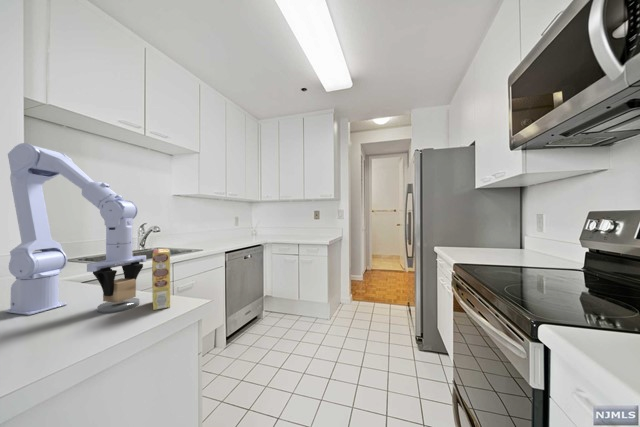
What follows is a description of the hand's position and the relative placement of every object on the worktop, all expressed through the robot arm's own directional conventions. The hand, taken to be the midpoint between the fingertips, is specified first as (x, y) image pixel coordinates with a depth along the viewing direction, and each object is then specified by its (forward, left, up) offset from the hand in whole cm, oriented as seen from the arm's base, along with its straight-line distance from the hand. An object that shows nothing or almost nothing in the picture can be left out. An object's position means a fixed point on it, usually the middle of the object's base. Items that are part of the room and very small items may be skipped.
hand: (119, 292), depth 68 cm
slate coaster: (0, 0, -4) cm, 4 cm away
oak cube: (0, 0, -2) cm, 2 cm away
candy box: (+10, +4, -4) cm, 12 cm away
